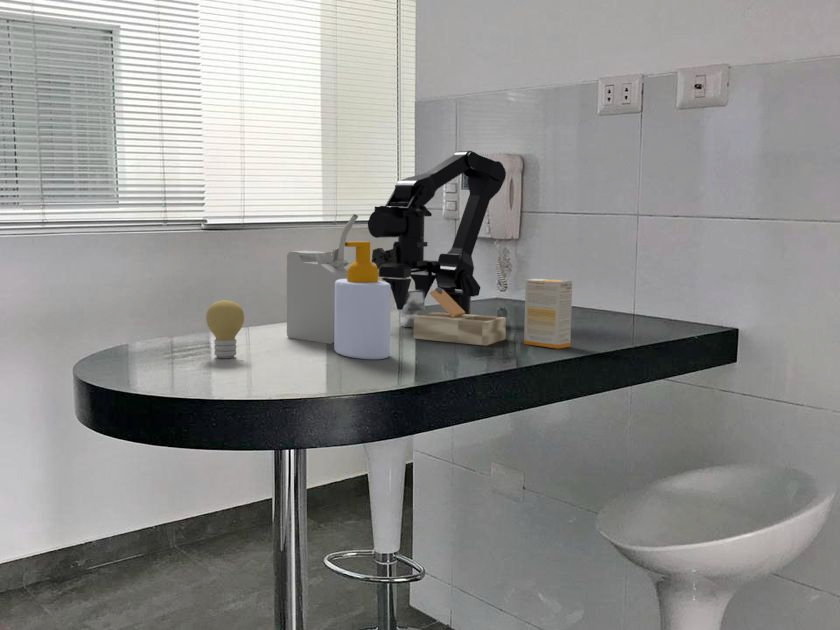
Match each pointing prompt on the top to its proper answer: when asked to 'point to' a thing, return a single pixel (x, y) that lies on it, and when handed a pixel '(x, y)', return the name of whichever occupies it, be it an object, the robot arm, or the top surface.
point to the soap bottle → (362, 309)
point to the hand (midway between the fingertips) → (409, 307)
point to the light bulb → (225, 326)
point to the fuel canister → (314, 291)
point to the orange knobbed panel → (447, 302)
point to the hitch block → (460, 328)
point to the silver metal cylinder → (412, 307)
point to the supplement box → (548, 312)
